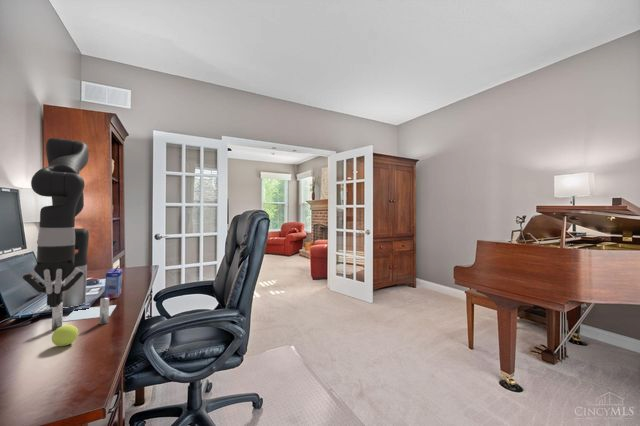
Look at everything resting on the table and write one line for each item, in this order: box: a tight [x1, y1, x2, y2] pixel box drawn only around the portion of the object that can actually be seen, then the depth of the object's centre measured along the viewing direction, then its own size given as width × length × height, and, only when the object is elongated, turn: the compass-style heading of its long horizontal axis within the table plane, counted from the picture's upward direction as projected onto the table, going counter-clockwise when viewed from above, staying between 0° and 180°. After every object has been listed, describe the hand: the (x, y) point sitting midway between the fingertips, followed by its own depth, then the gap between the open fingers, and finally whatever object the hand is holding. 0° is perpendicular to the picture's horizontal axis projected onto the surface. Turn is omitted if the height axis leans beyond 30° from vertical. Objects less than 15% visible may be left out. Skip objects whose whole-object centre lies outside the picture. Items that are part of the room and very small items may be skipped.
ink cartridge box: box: [103, 265, 124, 299], centre depth 133 cm, size 10×6×14 cm, turn 27°
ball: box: [51, 324, 79, 347], centre depth 84 cm, size 6×6×6 cm
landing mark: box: [62, 304, 117, 323], centre depth 111 cm, size 14×14×1 cm
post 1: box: [51, 302, 64, 331], centre depth 95 cm, size 3×3×9 cm
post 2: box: [98, 297, 110, 325], centre depth 101 cm, size 3×3×9 cm
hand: (54, 306), depth 76 cm, fingers closed
